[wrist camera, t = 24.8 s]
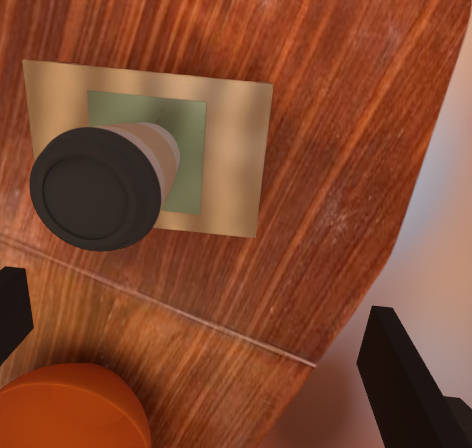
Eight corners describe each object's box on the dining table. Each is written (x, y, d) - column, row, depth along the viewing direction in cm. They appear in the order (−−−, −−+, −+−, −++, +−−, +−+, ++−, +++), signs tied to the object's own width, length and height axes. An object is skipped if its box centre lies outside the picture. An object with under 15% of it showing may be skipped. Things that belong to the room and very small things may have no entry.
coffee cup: (203, 184, 39) (172, 246, 25) (125, 208, 40) (55, 279, 26) (171, 97, 36) (116, 112, 22) (87, 126, 37) (-14, 158, 23)
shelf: (270, 81, 43) (273, 83, 35) (255, 210, 49) (255, 239, 41) (66, 62, 44) (20, 59, 35) (76, 192, 50) (39, 216, 41)
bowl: (-2, 407, 66) (-44, 462, 56) (49, 307, 57) (9, 353, 48) (126, 465, 70) (106, 525, 60) (191, 380, 61) (180, 435, 52)
